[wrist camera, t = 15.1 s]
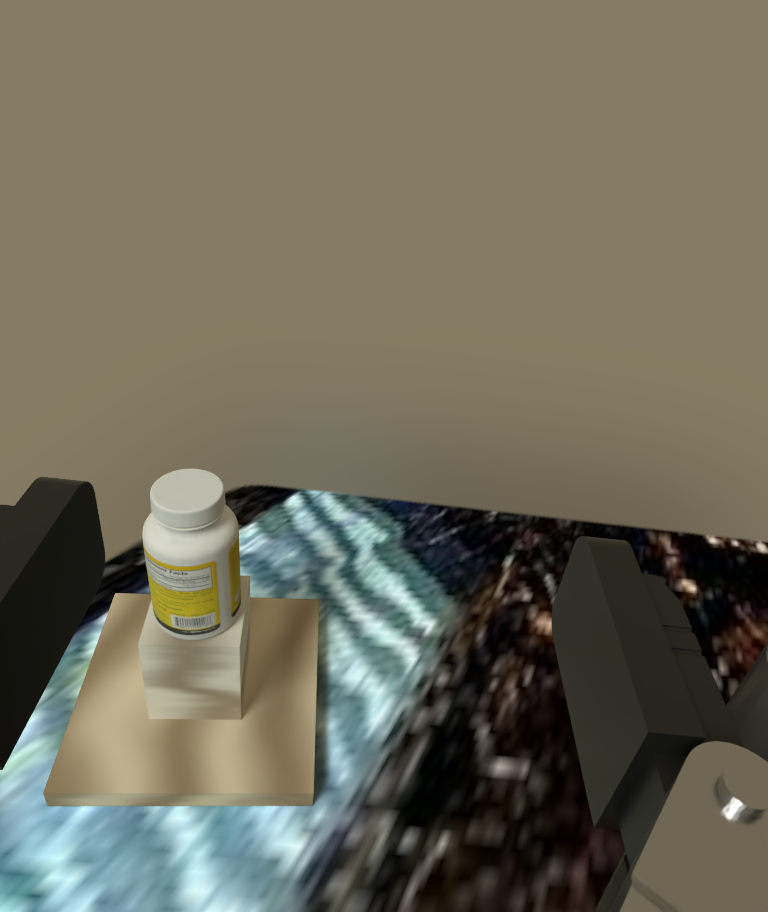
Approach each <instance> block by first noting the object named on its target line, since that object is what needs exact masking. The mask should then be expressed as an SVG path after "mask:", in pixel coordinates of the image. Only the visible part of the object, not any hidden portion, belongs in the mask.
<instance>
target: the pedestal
mask: <svg viewBox="0 0 768 912" xmlns="http://www.w3.org/2000/svg"><path fill="white" fill-rule="evenodd" d="M240 583H241V607H240V611H239V614H238V616H237V618H236V619H235V621H234V622H233V623H232V624H231V625H230V626H229V627H228V628H227V629H225V630H224V631H222V632H221V633H219V634H217V635H215V636H212V637H210V638H206V639H201V640H184V639H179V638H176V637H173V636H171V635H169V634H168V633H166V632H165V631H164V630H163V629H162V628H161V627H160V626H159V625H158V623H157V621H156V619H155V616H154V611H153V605H152V599H151V594H123V593H115V596H114V598H113V601H112V604H111V607H110V609H109V612H108V615H107V618H106V621H105V623H104V626H103V629H102V632H101V634H100V637H99V640H98V643H97V645H96V648H95V651H94V654H93V657H92V659H91V662H90V665H89V668H88V670H87V673H86V676H85V679H84V682H83V684H82V687H81V690H80V693H79V695H78V698H77V701H76V704H75V706H74V709H73V712H72V715H71V718H70V720H69V723H68V726H67V729H66V731H65V734H64V737H63V740H62V742H61V745H60V748H59V751H58V754H57V756H56V759H55V762H54V765H53V767H52V770H51V773H50V776H49V779H48V781H47V784H46V787H45V790H44V792H43V794H44V797H45V800H46V803H47V806H312V805H313V795H314V762H315V726H316V690H317V653H318V617H319V600H310V599H279V598H250V576H240Z"/></svg>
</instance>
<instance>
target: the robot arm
mask: <svg viewBox="0 0 768 912" xmlns="http://www.w3.org/2000/svg"><path fill="white" fill-rule="evenodd" d="M104 565H105V549H104V543H103V538H102V532H101V526H100V520H99V514H98V509H97V503H96V498H95V492H94V489H93V486H92V485H91V484H90V483H89V482H85V481H75V480H67V479H57V478H48V477H40V478H38V479H36V480H35V481H34V482H33V483H32V484H31V486H30V487H29V488H28V489H27V491H26V492H25V493H24V495H23V496H22V497H21V499H20V500H19V501H18V502H17V504H16V505H15V506H9V505H0V770H3V768H4V766H5V764H6V762H7V760H8V758H9V757H10V755H11V753H12V751H13V749H14V747H15V745H16V743H17V741H18V740H19V738H20V736H21V734H22V732H23V730H24V728H25V726H26V724H27V722H28V721H29V719H30V717H31V715H32V713H33V711H34V709H35V707H36V705H37V703H38V702H39V700H40V698H41V696H42V694H43V692H44V690H45V688H46V686H47V685H48V683H49V681H50V679H51V677H52V675H53V673H54V671H55V669H56V667H57V666H58V664H59V662H60V660H61V658H62V656H63V654H64V652H65V650H66V649H67V647H68V645H69V643H70V641H71V639H72V637H73V635H74V633H75V631H76V630H77V628H78V626H79V624H80V622H81V620H82V618H83V616H84V614H85V612H86V611H87V609H88V607H89V605H90V603H91V601H92V599H93V597H94V595H95V594H96V592H97V590H98V588H99V585H100V583H101V579H102V576H103V571H104ZM691 629H692V627H691V625H690V623H689V620H688V618H687V616H686V613H685V611H684V609H683V607H682V604H681V602H680V600H679V599H678V598H677V597H676V596H675V595H674V594H673V592H672V591H671V590H670V589H669V588H668V587H667V586H666V585H665V584H664V583H663V581H662V580H661V579H660V578H659V577H658V576H657V575H648V574H642V573H641V570H640V568H639V565H638V563H637V560H636V557H635V555H634V552H633V550H632V548H631V546H630V544H629V543H628V542H627V541H622V540H613V539H604V538H594V537H585V536H581V537H579V538H578V539H577V541H576V543H575V545H574V548H573V550H572V553H571V556H570V559H569V561H568V564H567V567H566V570H565V572H564V575H563V578H562V581H561V583H560V586H559V589H558V592H557V594H556V597H555V600H554V605H553V611H552V635H553V640H554V645H555V649H556V654H557V658H558V663H559V668H560V672H561V677H562V682H563V686H564V691H565V696H566V700H567V705H568V709H569V714H570V719H571V723H572V728H573V733H574V737H575V742H576V746H577V751H578V756H579V760H580V765H581V770H582V774H583V779H584V784H585V788H586V793H587V797H588V802H589V807H590V811H591V816H592V821H593V825H594V828H602V829H613V830H620V831H621V835H622V839H623V843H624V847H625V851H626V852H625V854H624V855H623V857H622V858H621V860H620V862H619V864H618V866H617V868H616V870H615V872H614V874H613V876H612V878H611V880H610V882H609V884H608V886H607V888H606V890H605V892H604V894H603V896H602V898H601V900H600V902H599V904H598V906H597V908H596V910H595V912H768V643H767V644H766V646H765V647H764V649H763V650H762V652H761V653H760V655H759V656H758V658H757V659H756V661H755V662H754V664H753V666H752V667H751V669H750V670H749V672H748V673H747V675H746V676H745V678H744V679H743V681H742V682H741V684H740V685H739V687H738V688H737V690H736V691H735V693H734V694H733V696H732V697H731V699H730V700H729V702H728V703H727V705H725V703H724V700H723V698H722V696H721V693H720V691H719V689H718V687H717V684H716V682H715V680H714V677H713V675H712V673H711V671H710V668H709V666H708V664H707V661H706V659H705V657H704V656H702V655H701V651H702V650H701V648H700V645H699V643H698V641H697V639H696V636H695V634H694V633H692V632H691Z"/></svg>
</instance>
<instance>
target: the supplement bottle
mask: <svg viewBox="0 0 768 912" xmlns="http://www.w3.org/2000/svg"><path fill="white" fill-rule="evenodd" d="M150 498H151V509H152V513H151V514H150V515H149V516H148V518H147V519H146V521H145V524H144V527H143V545H144V552H145V559H146V565H147V572H148V579H149V585H150V592H151V599H152V605H153V611H154V616H155V619H156V621H157V623H158V625H159V626H160V627H161V628H162V629H163V630H164V631H165V632H166V633H168V634H169V635H171V636H173V637H176V638H179V639H184V640H201V639H206V638H210V637H212V636H215V635H217V634H219V633H221V632H222V631H224V630H225V629H227V628H228V627H229V626H230V625H231V624H232V623H233V622H234V621H235V619H236V618H237V616H238V614H239V611H240V607H241V583H240V555H239V530H238V522H237V519H236V517H235V515H234V513H233V512H232V510H231V509H230V508H229V507H228V506H227V505H225V495H224V486H223V483H222V482H221V480H220V479H219V478H218V477H217V476H216V475H214V474H213V473H211V472H208V471H205V470H200V469H181V470H176V471H173V472H170V473H168V474H165V475H163V476H162V477H160V478H159V479H158V480H157V481H156V482H155V483H154V484H153V486H152V488H151V491H150Z"/></svg>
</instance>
